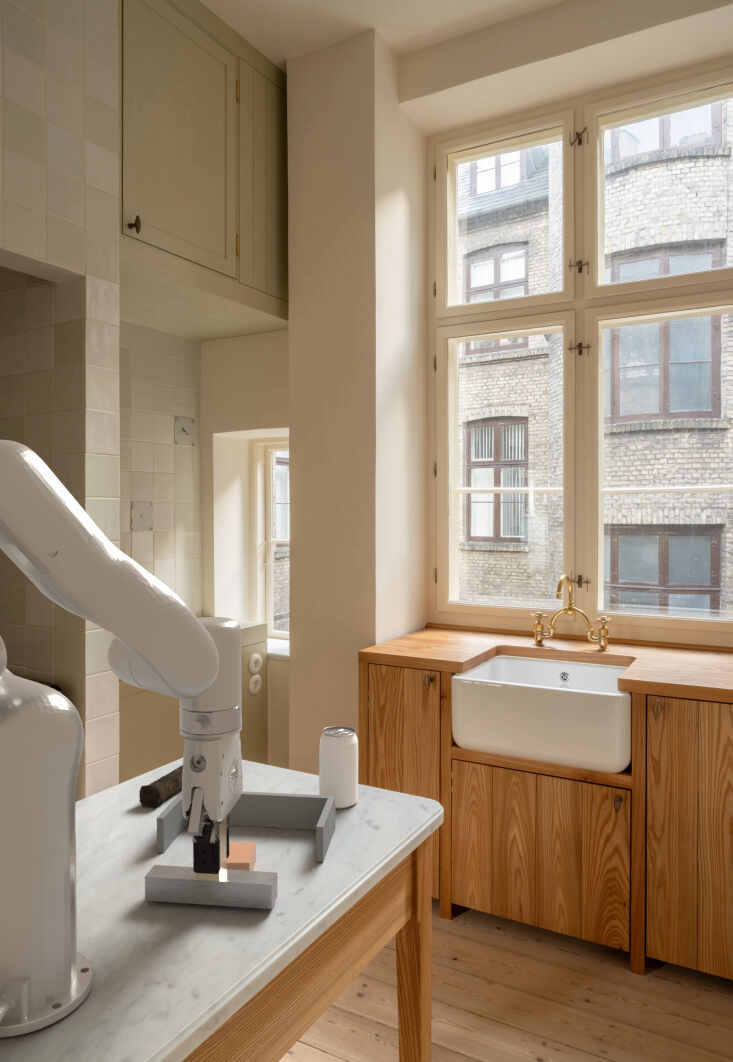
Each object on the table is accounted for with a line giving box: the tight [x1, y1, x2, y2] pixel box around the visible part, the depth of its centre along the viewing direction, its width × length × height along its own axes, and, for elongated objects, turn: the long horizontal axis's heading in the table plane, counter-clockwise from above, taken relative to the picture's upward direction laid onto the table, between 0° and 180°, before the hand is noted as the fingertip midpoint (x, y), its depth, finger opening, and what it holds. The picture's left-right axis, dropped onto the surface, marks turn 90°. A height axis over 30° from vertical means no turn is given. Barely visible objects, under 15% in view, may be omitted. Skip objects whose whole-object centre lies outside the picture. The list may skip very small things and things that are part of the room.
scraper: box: [144, 813, 278, 910], centre depth 92 cm, size 3×16×10 cm, turn 83°
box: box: [156, 790, 336, 863], centre depth 109 cm, size 11×24×5 cm, turn 84°
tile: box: [227, 841, 257, 871], centre depth 100 cm, size 6×6×3 cm
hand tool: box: [138, 764, 183, 809], centre depth 129 cm, size 19×4×5 cm, turn 158°
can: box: [318, 725, 359, 810], centre depth 123 cm, size 6×6×12 cm
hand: (211, 863), depth 92 cm, fingers closed on scraper, 3 cm apart
